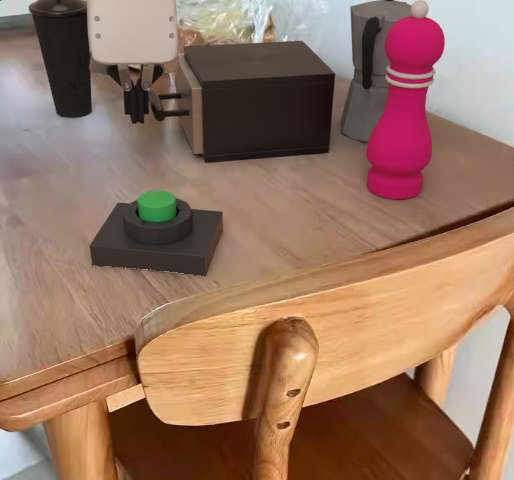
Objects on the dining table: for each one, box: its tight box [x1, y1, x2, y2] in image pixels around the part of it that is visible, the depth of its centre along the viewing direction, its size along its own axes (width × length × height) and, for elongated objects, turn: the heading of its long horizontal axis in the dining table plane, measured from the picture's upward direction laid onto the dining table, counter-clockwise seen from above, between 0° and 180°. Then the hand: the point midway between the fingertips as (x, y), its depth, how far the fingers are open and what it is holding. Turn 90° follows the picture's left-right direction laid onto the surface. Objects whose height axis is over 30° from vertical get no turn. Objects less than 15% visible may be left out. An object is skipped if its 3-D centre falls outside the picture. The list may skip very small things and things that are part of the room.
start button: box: [137, 189, 177, 222], centre depth 70 cm, size 4×4×2 cm
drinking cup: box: [28, 0, 93, 118], centre depth 95 cm, size 8×8×20 cm
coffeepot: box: [339, 0, 412, 144], centre depth 91 cm, size 15×9×18 cm, turn 158°
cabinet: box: [183, 40, 336, 164], centre depth 92 cm, size 16×14×10 cm
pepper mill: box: [365, 0, 446, 200], centre depth 78 cm, size 7×7×20 cm
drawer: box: [149, 55, 204, 155], centre depth 92 cm, size 19×13×8 cm
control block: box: [89, 197, 224, 277], centre depth 71 cm, size 11×9×4 cm
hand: (137, 119), depth 90 cm, fingers closed
